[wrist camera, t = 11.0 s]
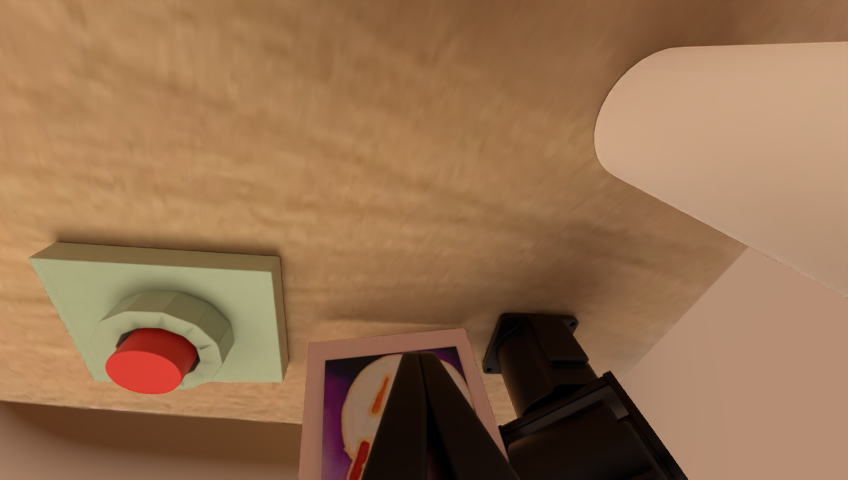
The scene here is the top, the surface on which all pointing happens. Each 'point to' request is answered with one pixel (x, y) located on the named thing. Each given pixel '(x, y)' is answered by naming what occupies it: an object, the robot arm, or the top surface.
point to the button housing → (171, 306)
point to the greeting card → (372, 396)
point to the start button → (151, 361)
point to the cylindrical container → (742, 145)
